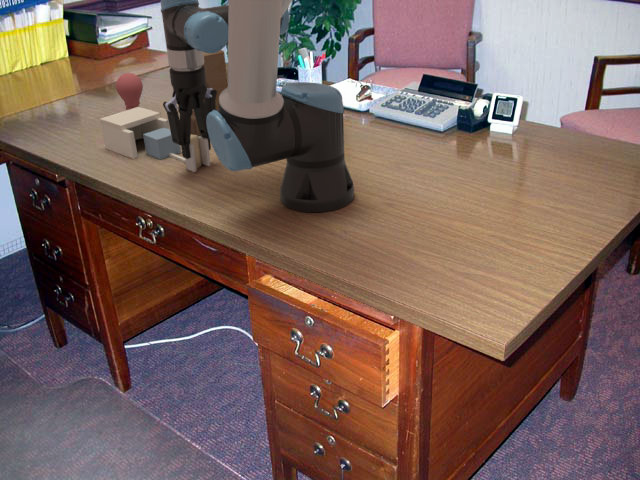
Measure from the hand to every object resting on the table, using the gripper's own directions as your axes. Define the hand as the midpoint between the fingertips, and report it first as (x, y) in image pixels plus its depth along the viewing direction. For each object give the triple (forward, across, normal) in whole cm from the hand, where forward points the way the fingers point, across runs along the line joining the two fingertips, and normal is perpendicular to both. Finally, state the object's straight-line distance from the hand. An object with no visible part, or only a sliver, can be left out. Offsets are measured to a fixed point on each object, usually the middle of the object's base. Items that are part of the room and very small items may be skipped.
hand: (198, 166), depth 163 cm
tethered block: (0, 0, -9) cm, 9 cm away
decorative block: (+1, -19, -18) cm, 26 cm away
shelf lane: (+1, 0, -23) cm, 23 cm away
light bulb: (+2, -14, -45) cm, 47 cm away
